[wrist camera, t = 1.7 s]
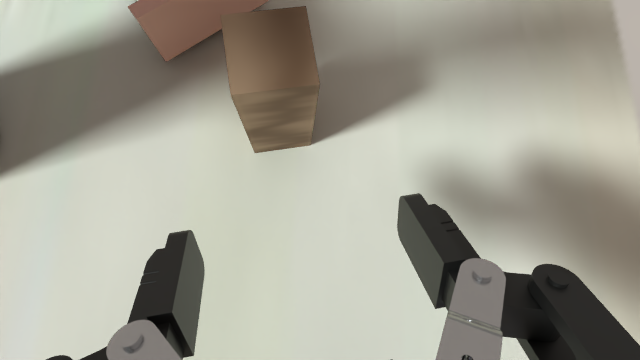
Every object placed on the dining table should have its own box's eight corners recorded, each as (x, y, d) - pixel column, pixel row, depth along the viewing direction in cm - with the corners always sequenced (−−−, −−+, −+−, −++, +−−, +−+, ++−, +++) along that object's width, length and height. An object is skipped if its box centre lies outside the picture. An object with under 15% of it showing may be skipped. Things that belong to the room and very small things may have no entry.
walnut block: (254, 153, 31) (230, 95, 20) (247, 100, 32) (220, 15, 20) (310, 145, 32) (319, 84, 20) (301, 93, 33) (305, 6, 21)
